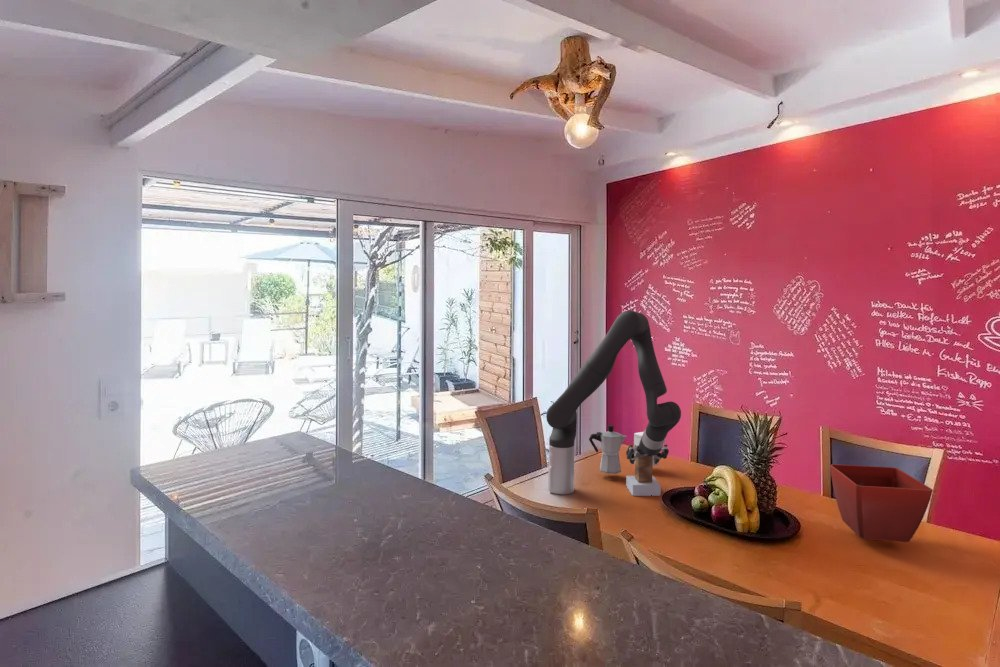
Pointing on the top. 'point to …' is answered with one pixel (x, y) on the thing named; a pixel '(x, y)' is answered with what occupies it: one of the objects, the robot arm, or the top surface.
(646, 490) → the stand
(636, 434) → the supplement box
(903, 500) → the plant pot
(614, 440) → the coffee maker
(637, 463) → the walnut block
